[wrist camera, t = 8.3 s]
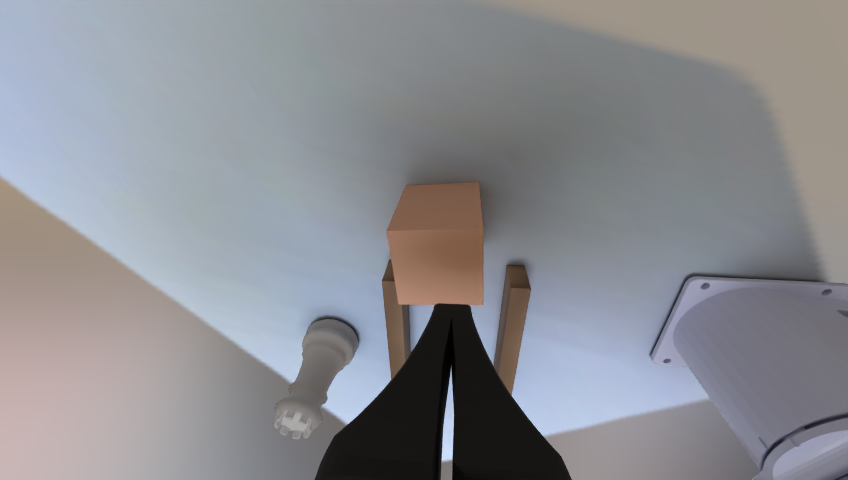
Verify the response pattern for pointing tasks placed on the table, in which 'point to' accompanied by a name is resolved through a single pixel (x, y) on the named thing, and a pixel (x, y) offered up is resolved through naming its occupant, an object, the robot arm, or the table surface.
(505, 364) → the walnut channel
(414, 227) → the terracotta block
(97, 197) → the table surface
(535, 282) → the table surface
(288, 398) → the rook chess piece
